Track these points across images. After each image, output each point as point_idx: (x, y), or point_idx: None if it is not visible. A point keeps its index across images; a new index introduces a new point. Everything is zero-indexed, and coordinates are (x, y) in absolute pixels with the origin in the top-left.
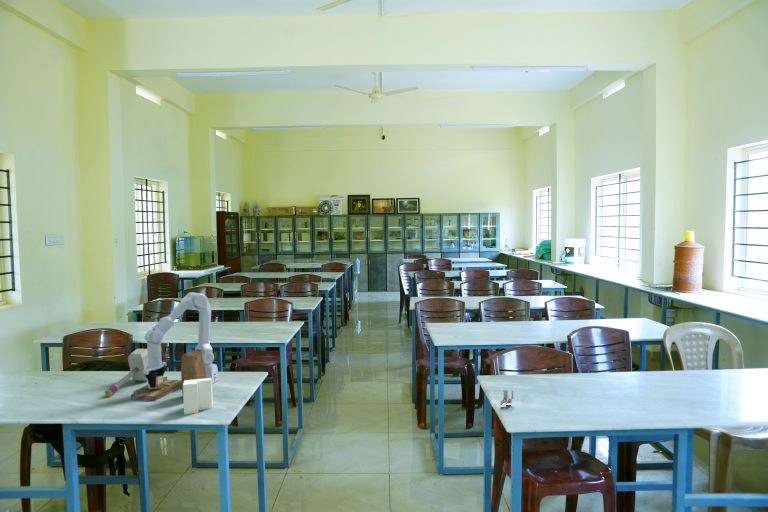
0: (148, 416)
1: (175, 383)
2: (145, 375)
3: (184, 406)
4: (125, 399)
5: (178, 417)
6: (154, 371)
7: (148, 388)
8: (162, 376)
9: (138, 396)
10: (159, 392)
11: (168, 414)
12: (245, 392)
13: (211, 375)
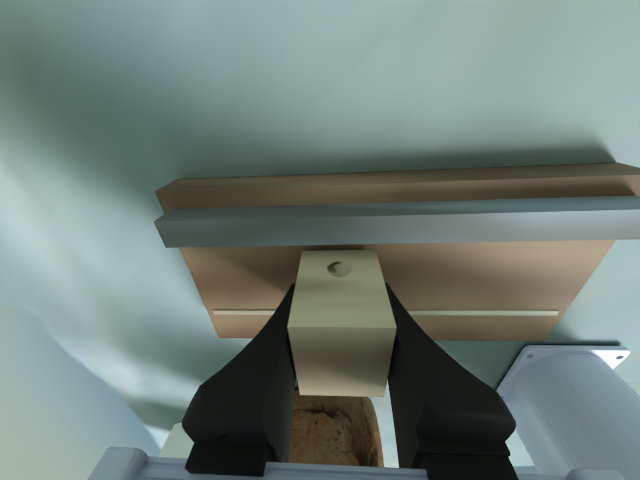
0: (92, 370)
1: (473, 321)
2: (211, 383)
3: (161, 454)
4: (158, 130)
5: (148, 422)
6: (413, 391)
7: (302, 254)
8: (374, 393)
9: (185, 247)
10: None
11: (146, 401)
12: (384, 465)
13: (526, 449)
